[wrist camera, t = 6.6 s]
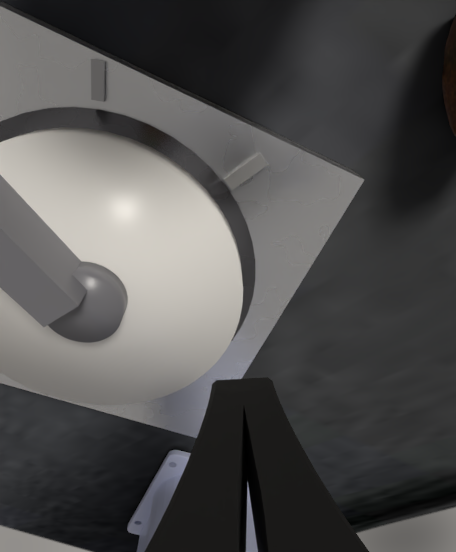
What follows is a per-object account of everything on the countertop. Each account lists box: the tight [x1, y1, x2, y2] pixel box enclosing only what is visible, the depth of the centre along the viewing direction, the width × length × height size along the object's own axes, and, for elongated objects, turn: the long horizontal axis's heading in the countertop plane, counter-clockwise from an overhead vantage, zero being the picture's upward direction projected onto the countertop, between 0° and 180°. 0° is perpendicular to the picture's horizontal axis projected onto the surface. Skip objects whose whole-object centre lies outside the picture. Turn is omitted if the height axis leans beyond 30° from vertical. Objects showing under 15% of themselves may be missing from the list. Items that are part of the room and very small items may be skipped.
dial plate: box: [0, 1, 364, 438], centre depth 17 cm, size 16×16×2 cm
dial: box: [0, 128, 243, 405], centre depth 15 cm, size 12×12×3 cm
